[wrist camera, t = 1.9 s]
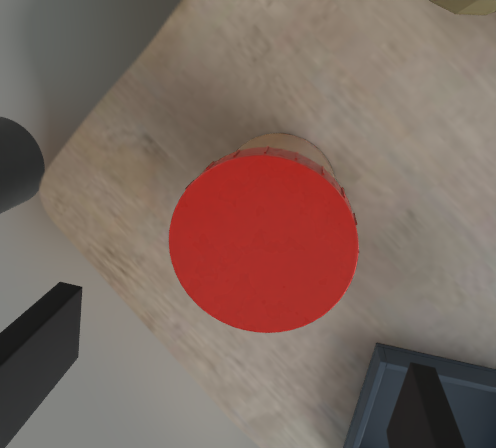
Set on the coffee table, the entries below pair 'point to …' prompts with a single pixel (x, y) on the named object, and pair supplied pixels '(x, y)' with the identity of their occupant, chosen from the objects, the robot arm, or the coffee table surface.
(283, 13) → the coffee table surface
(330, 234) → the lid
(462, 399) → the tray
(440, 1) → the squeeze bottle
